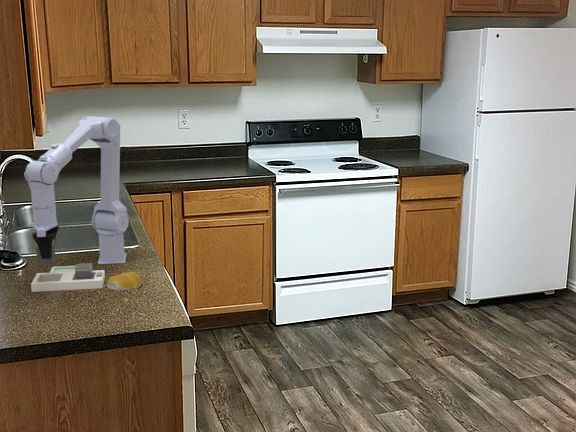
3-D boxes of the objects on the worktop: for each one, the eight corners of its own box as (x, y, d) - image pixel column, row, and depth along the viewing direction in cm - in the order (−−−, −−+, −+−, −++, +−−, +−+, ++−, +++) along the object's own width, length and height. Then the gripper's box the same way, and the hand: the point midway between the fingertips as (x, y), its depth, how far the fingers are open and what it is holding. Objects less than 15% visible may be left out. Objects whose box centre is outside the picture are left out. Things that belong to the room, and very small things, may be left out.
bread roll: (148, 285, 181) (147, 271, 180) (122, 295, 174) (121, 280, 173) (127, 279, 185) (127, 266, 184) (102, 288, 178) (101, 274, 177)
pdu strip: (37, 281, 182) (36, 262, 181) (104, 278, 185) (103, 259, 184) (31, 293, 173) (30, 273, 172) (102, 289, 177) (101, 270, 175)
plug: (40, 260, 178) (37, 235, 177) (56, 259, 179) (53, 235, 177) (37, 265, 174) (34, 240, 173) (53, 264, 175) (51, 239, 173)
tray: (52, 269, 192) (52, 266, 192) (84, 268, 194) (84, 265, 193) (47, 280, 183) (47, 276, 183) (81, 278, 185) (81, 275, 185)
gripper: (32, 201, 179) (36, 248, 182) (22, 213, 165) (27, 264, 169) (60, 200, 181) (63, 247, 184) (51, 212, 167) (55, 263, 170)
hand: (47, 255), depth 176 cm, fingers closed on plug, 4 cm apart
